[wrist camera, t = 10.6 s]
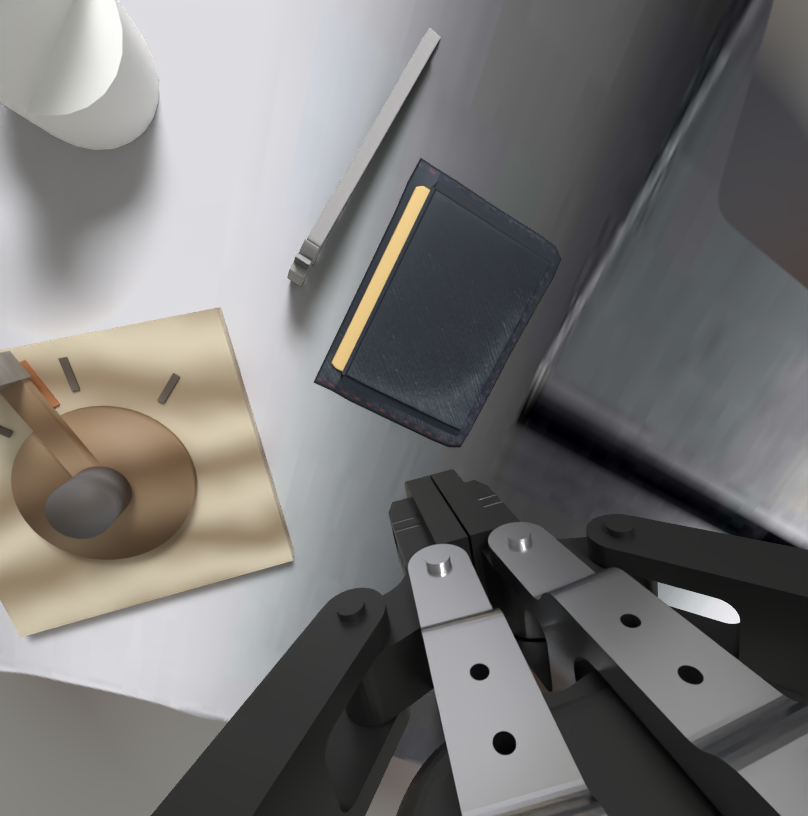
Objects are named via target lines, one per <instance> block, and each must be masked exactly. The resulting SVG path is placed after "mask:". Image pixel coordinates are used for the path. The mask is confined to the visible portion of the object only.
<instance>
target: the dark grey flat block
mask: <svg viewBox="0 0 808 816" xmlns="http://www.w3.org/2000/svg"><path fill="white" fill-rule="evenodd" d="M560 261H561V258H560V255H559V253H558V250H557V248H556V246H554V245H553V244H552V243H550V242H549V241H548V240H546V239H545V238H544V237H542V236H541V235H539V234H538V233H536V232H535V231H533V230H531V229H530V228H528V227H527V226H525V225H523V224H522V223H520V222H519V221H517V220H515V219H514V218H512V217H511V216H509V215H508V214H506V213H504V212H503V211H501V210H500V209H498V208H496V207H495V206H493V205H492V204H490V203H489V202H487V201H486V200H484V199H483V198H481V197H480V196H478V195H477V194H476V193H474V192H473V191H471V190H470V189H468V188H467V187H465V186H464V185H462V184H461V183H459V182H458V181H456V180H455V179H453V178H451V177H450V176H448V175H447V174H445V173H443V172H442V171H440V170H438V169H437V168H435V167H434V166H432V165H431V164H429V163H428V162H426V161H425V160H423V159H422V158H420V160H419V162H418V164H417V166H416V168H415V170H414V171H413V173H412V175H411V177H410V179H409V181H408V183H407V185H406V187H405V190H404V192H403V194H402V197H401V199H400V201H399V204H398V206H397V208H396V211H395V213H394V215H393V217H392V219H391V221H390V223H389V225H388V228H387V230H386V232H385V234H384V236H383V238H382V240H381V242H380V244H379V246H378V249H377V251H376V253H375V255H374V257H373V259H372V261H371V263H370V265H369V267H368V269H367V272H366V274H365V276H364V278H363V280H362V282H361V284H360V286H359V288H358V290H357V293H356V295H355V297H354V299H353V301H352V303H351V305H350V307H349V309H348V311H347V314H346V316H345V318H344V320H343V322H342V324H341V326H340V328H339V330H338V332H337V335H336V337H335V339H334V341H333V343H332V345H331V347H330V349H329V351H328V353H327V355H326V358H325V360H324V362H323V364H322V366H321V368H320V370H319V372H318V374H317V376H316V378H315V381H314V382H315V383H317V384H319V385H321V386H323V387H326V388H328V389H330V390H332V391H334V392H336V393H337V394H339V395H341V396H343V397H344V398H346V399H348V400H350V401H352V402H354V403H356V404H358V405H360V406H362V407H364V408H366V409H369V410H371V411H373V412H375V413H377V414H379V415H381V416H383V417H385V418H387V419H389V420H392V421H394V422H396V423H398V424H400V425H402V426H404V427H406V428H409V429H411V430H413V431H415V432H417V433H419V434H421V435H423V436H425V437H428V438H430V439H432V440H434V441H437V442H439V443H441V444H444V445H446V446H448V447H461V445H462V443H463V442H464V440H465V438H466V437H467V435H468V433H469V432H470V430H471V428H472V426H473V424H474V423H475V421H476V419H477V417H478V415H479V413H480V411H481V410H482V408H483V406H484V404H485V402H486V400H487V398H488V396H489V394H490V392H491V390H492V388H493V386H494V385H495V383H496V381H497V379H498V377H499V375H500V373H501V371H502V369H503V367H504V365H505V363H506V361H507V360H508V358H509V356H510V354H511V352H512V350H513V348H514V347H515V345H516V343H517V341H518V339H519V338H520V336H521V334H522V332H523V330H524V329H525V327H526V325H527V323H528V321H529V320H530V318H531V316H532V314H533V312H534V311H535V309H536V307H537V305H538V303H539V302H540V300H541V298H542V296H543V295H544V293H545V291H546V289H547V288H548V286H549V284H550V283H551V281H552V279H553V277H554V275H555V273H556V270H557V268H558V266H559V263H560Z"/></svg>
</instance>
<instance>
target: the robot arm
mask: <svg viewBox="0 0 808 816" xmlns="http://www.w3.org/2000/svg"><path fill="white" fill-rule="evenodd" d="M405 489H406V494H407V499H403V500H399V501H396V502H392V505H391V508H390V510H389V517H390V521H391V526H392V530H393V535H394V539H395V544H396V548H397V553H398V557H399V560H400V563H401V566H402V569H403V572H404V575H405V577H404V578H403V580H402V581H401V582H400V583H399V585H398V586H396V587H395V588H394V589H393V590H391V591H390V592H388V593H386V594H385V595H383V596H382V595H381V594H380V593H379V592H377V591H375V590H373V589H370V588H355V589H351V590H347V591H345V592H342V593H340V594H338V595H337V596H335V597H333V598H332V599H331V600H330V601H328V603H327V604H326V605H325V606H324V607H323V608H322V609H321V611H320V612H319V613H318V614H317V615H316V617H315V618H314V619H313V620H312V621H311V623H310V624H309V625H308V626H307V627H306V629H305V630H304V631H303V632H302V634H301V635H300V636H299V637H298V638H297V640H296V641H295V642H294V643H293V644H292V646H291V647H290V648H289V649H288V650H287V652H286V653H285V654H284V655H283V657H282V658H281V659H280V660H279V661H278V663H277V664H276V665H275V666H274V667H273V669H272V670H271V671H270V672H269V673H268V675H267V676H266V677H265V678H264V679H263V681H262V682H261V683H260V684H259V686H258V687H257V688H256V689H255V690H254V692H253V693H252V694H251V695H250V696H249V698H248V699H247V700H246V701H245V702H244V704H243V705H242V706H241V707H240V708H239V710H238V711H237V712H236V713H235V715H234V716H233V717H232V718H231V719H230V721H229V722H228V723H227V724H226V726H225V727H224V728H223V729H222V730H221V732H220V733H219V734H218V735H217V736H216V738H215V739H214V740H213V741H212V742H211V744H210V745H209V746H208V747H207V748H206V750H205V751H204V752H203V753H202V754H201V756H200V757H199V758H198V759H197V761H196V762H195V763H194V764H193V765H192V767H191V768H190V769H189V770H188V771H187V773H186V774H185V775H184V776H183V777H182V779H181V780H180V781H179V782H178V783H177V785H176V786H175V787H174V789H172V791H171V792H170V793H169V794H168V796H167V797H166V798H165V799H164V800H163V802H162V803H161V804H160V805H159V807H158V808H157V809H156V810H155V811H154V813H153V814H152V815H151V816H365V815H366V812H367V810H368V808H369V806H370V804H371V801H372V799H373V797H374V795H375V793H376V791H377V788H378V786H379V784H380V782H381V780H382V777H383V775H384V773H385V771H386V769H387V767H388V764H389V762H390V760H391V758H392V756H393V754H394V751H395V749H396V747H397V745H398V743H399V741H400V738H401V736H402V734H403V732H404V730H405V728H406V725H407V723H408V720H409V717H410V705H411V704H413V703H414V702H416V701H417V700H418V699H420V698H421V697H422V696H424V695H425V694H426V693H428V692H429V691H430V690H432V689H433V688H434V690H435V695H436V699H437V704H438V708H439V713H440V717H441V722H442V727H443V731H444V736H445V740H446V742H444V743H443V744H442V745H441V746H440V747H439V748H438V749H437V750H435V751H434V752H433V753H432V755H431V756H430V757H429V758H428V759H427V760H426V762H425V763H424V764H423V765H422V767H421V768H420V770H419V771H418V772H417V774H416V776H415V777H414V778H413V780H412V782H411V784H410V786H409V787H408V789H407V791H406V794H405V795H404V798H403V800H402V802H401V805H400V807H399V810H398V812H397V815H396V816H808V550H805V549H800V548H795V547H790V546H785V545H779V544H774V543H769V542H764V541H759V540H754V539H748V538H743V537H738V536H733V535H728V534H723V533H717V532H712V531H707V530H702V529H697V528H692V527H686V526H681V525H676V524H671V523H666V522H661V521H655V520H650V519H645V518H640V517H635V516H630V515H623V514H609V515H603V516H600V517H597V518H595V519H593V520H591V521H590V522H589V523H588V525H587V527H586V534H587V537H583V538H569V539H555V538H554V537H553V536H552V535H551V534H549V533H548V532H547V531H546V530H545V529H543V528H542V527H540V526H538V525H535V524H532V523H527V522H520V521H519V519H518V518H517V517H516V516H515V515H514V514H513V513H512V512H511V511H510V510H509V509H508V507H507V506H506V505H505V504H504V503H503V502H501V500H500V499H499V498H498V497H497V496H495V493H494V492H493V491H492V490H491V489H490V488H489V487H488V486H487V485H485V484H482V483H480V482H478V481H475V480H473V481H469V482H465V483H464V482H463V481H462V479H461V478H460V477H459V476H458V474H457V473H456V472H455V471H454V470H453V469H452V470H448V471H444V472H441V473H437V474H433V475H430V476H426V477H422V478H418V479H415V480H411V481H407V482H405ZM658 582H660V583H664V584H667V585H671V586H674V587H678V588H682V589H685V590H689V591H693V592H696V593H700V594H704V595H707V596H711V597H714V598H718V599H721V600H723V601H725V602H727V603H728V604H730V605H731V606H732V607H733V608H734V609H735V610H736V611H737V613H738V614H739V617H740V623H737V624H727V623H723V622H720V621H717V620H713V619H710V618H707V617H703V616H700V615H697V614H694V613H690V612H687V611H684V610H680V609H677V608H674V607H670V606H668V605H667V604H665V603H664V602H663V601H662V600H660V599H659V598H658Z"/></svg>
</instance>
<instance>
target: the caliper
mask: <svg viewBox="0 0 808 816" xmlns="http://www.w3.org/2000/svg"><path fill="white" fill-rule="evenodd" d="M440 38H441V37H440V36H439V35H438V34H436V33H435V32H434V31H433V30H432V29H431V28H429V29H428V31H427V33H426V34H425V36H424V37H423V39H422V40H421V42H420V44H419V46H418V47H417V49H416V51H415V52H414V54H413V56H412V58H411V59H410V61H409V63H408V65H407V66H406V68H405V70H404V72H403V73H402V75H401V77H400V79H399V80H398V82H397V84H396V86H395V87H394V89H393V91H392V93H391V94H390V96H389V98H388V99H387V101H386V103H385V105H384V106H383V108H382V110H381V112H380V113H379V115H378V117H377V119H376V120H375V122H374V124H373V126H372V127H371V129H370V131H369V133H368V134H367V136H366V138H365V140H364V141H363V143H362V145H361V147H360V148H359V150H358V152H357V154H356V155H355V157H354V159H353V160H352V162H351V164H350V166H349V167H348V169H347V171H346V173H345V174H344V176H343V178H342V180H341V181H340V182H339V184H338V186H337V187H336V189H335V191H334V193H333V194H332V196H331V198H330V200H329V201H328V203H327V205H326V207H325V208H324V210H323V212H322V213H321V215H320V217H319V219H318V220H317V222H316V224H315V226H314V227H313V229H312V231H311V233H310V234H309V236H308V238H307V240H306V239H305V241H304V243H303V245H302V247H301V249H300V252H299V253H297V255H296V256H295V260H294V262H293V264H292V266H291V268H290V270H289V273H288V277H287V278H288V279H290V280H291V281H293V282H295V283H296V284H298V285H300V286H301V285H302V284H303V282H304V280H305V277H306V275H307V272H308V270H309V268H310V266H313V264H314V262H315V261H316V259H317V257H318V254H319V252H320V250H321V248H322V246H323V244H324V242H325V240H326V239H327V237H328V235H329V233H330V232H331V230H332V229H333V227H334V225H335V223H336V222H337V220H338V218H339V216H340V215H341V213H342V211H343V209H344V208H345V206H346V204H347V202H348V200H349V198H350V196H351V195H352V193H353V191H354V189H355V188H356V186H357V184H358V182H359V181H360V179H361V177H362V175H363V173H364V172H365V170H366V168H367V166H368V165H369V163H370V161H371V159H372V158H373V156H374V154H375V152H376V151H377V149H378V147H379V145H380V144H381V142H382V140H383V138H384V137H385V135H386V133H387V131H388V130H389V128H390V126H391V124H392V123H393V121H394V119H395V117H396V116H397V114H398V112H399V110H400V109H401V107H402V105H403V103H404V102H405V100H406V98H407V96H408V95H409V93H410V91H411V89H412V88H413V86H414V84H415V82H416V81H417V79H418V77H419V75H420V74H421V72H422V70H423V68H424V66H425V65H426V63H427V61H428V59H429V58H430V56H431V54H432V52H433V50H434V49H435V47H436V45H437V43H438V42H439V40H440Z"/></svg>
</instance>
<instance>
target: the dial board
mask: <svg viewBox="0 0 808 816" xmlns="http://www.w3.org/2000/svg"><path fill="white" fill-rule="evenodd" d="M6 351H10V352H11V353H12V354H13V355H14V356H15V358H16V359H17V360H18V361H19V362H20V364H21V365H22V366H23V367H24V368H25V370H26V371H27V372H28V373H29V374H30V376H31V377H30V378H29V379H30V380H31V381H32V383H33V384H34V385H35V386H36V387H37V389H38V390H39V391H40V392H41V393H42V395H43V396H44V397H45V398H46V399H47V401H48V402H49V403H50V404H51V405H52V407H53V408H54V409H55V410H56V411H57V412H58V414H59V415H62V414H64V413H66V412H69V411H72V410H76V409H79V408H85V407H90V406H115V407H122V408H127V409H131V410H134V411H138V412H140V413H143V414H145V415H148V416H150V417H151V418H153V419H155V420H157V421H159V422H160V423H162V424H163V425H164V426H166V427H167V428H168V429H170V430H171V431H172V432H173V433H174V434H175V435H176V436H177V437H178V438H179V439H180V441H181V442H182V443H183V444H184V446H185V448H186V449H187V451H188V452H189V454H190V456H191V459H192V461H193V464H194V467H195V471H196V478H197V489H196V496H195V500H194V503H193V506H192V508H191V510H190V512H189V514H188V516H187V518H186V520H185V521H184V523H183V524H182V526H181V527H180V529H179V530H178V531H177V532H176V533H175V534H174V535H173V536H172V537H171V538H170V539H168V540H167V541H166V542H165V543H163V544H162V545H160V546H159V547H157V548H155V549H153V550H151V551H149V552H146V553H144V554H141V555H138V556H134V557H130V558H124V559H116V560H101V559H91V558H86V557H81V556H78V555H74V554H71V553H68V552H66V551H64V550H61V549H59V548H57V547H55V546H54V545H52V544H50V543H49V542H47V541H46V540H44V539H43V538H42V537H40V536H39V535H38V534H37V533H36V532H35V531H34V530H33V529H32V528H31V527H30V526H29V525H28V524H27V522H26V521H25V520H24V518H23V517H22V515H21V514H20V512H19V510H18V508H17V506H16V503H15V501H14V497H13V493H12V487H11V472H12V467H13V463H14V459H15V457H16V455H17V452H18V450H19V449H20V447H21V446H22V444H23V442H24V441H25V440H26V439H27V438H28V437H29V435H30V434H31V433H33V431H32V429H31V428H30V427H29V426H28V425H27V424H26V423H25V421H24V420H23V419H22V418H21V417H20V416H19V415H18V413H17V412H16V411H15V410H14V409H13V408H12V407H11V405H10V404H9V403H8V402H7V401H6V400H5V398H4V397H3V396H2V395H1V394H0V600H1V602H2V604H3V606H4V607H5V609H6V611H7V613H8V615H9V617H10V619H11V620H12V622H13V624H14V626H15V628H16V630H17V631H18V633H19V635H20V637H24V636H27V635H31V634H34V633H38V632H41V631H45V630H48V629H52V628H55V627H59V626H63V625H66V624H70V623H73V622H77V621H80V620H84V619H87V618H91V617H95V616H98V615H102V614H105V613H109V612H112V611H116V610H119V609H123V608H127V607H130V606H134V605H137V604H141V603H144V602H148V601H151V600H155V599H158V598H162V597H166V596H169V595H173V594H176V593H180V592H183V591H187V590H190V589H194V588H198V587H201V586H205V585H208V584H212V583H215V582H219V581H222V580H226V579H230V578H233V577H237V576H240V575H244V574H247V573H251V572H254V571H258V570H261V569H265V568H269V567H272V566H276V565H279V564H283V563H286V562H290V561H293V559H294V549H293V546H292V542H291V539H290V536H289V533H288V529H287V526H286V523H285V519H284V516H283V513H282V509H281V506H280V503H279V499H278V496H277V493H276V489H275V486H274V483H273V479H272V476H271V473H270V469H269V466H268V463H267V459H266V456H265V453H264V449H263V446H262V443H261V439H260V436H259V433H258V430H257V426H256V423H255V420H254V416H253V413H252V410H251V406H250V403H249V400H248V396H247V393H246V390H245V386H244V383H243V380H242V376H241V373H240V370H239V366H238V363H237V360H236V356H235V353H234V350H233V346H232V343H231V340H230V337H229V333H228V330H227V327H226V323H225V320H224V317H223V313H222V310H221V308H214V309H209V310H204V311H199V312H194V313H188V314H183V315H178V316H173V317H168V318H163V319H158V320H153V321H147V322H142V323H137V324H132V325H127V326H122V327H117V328H112V329H106V330H101V331H96V332H91V333H86V334H81V335H76V336H70V337H65V338H60V339H55V340H50V341H45V342H40V343H35V344H29V345H24V346H19V347H14V348H9V349H4V350H0V352H6Z"/></svg>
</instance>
